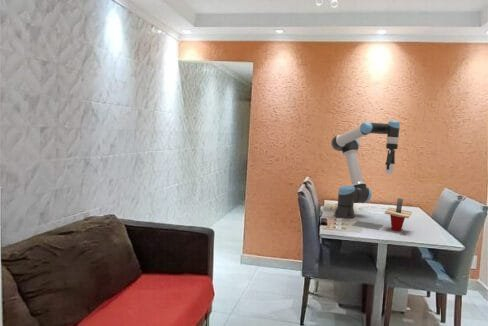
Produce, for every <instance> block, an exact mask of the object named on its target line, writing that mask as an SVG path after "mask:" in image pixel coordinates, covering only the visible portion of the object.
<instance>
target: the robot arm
mask: <svg viewBox="0 0 488 326" xmlns="http://www.w3.org/2000/svg"><path fill="white" fill-rule="evenodd" d="M400 129H401V123H400V121H398V120H388V123H385V122H384V123H382V122H370V121H365V122H362V123H361V124H360V125H359V126H358V127H356V128H354V129H351V130H350V131H349V130H348V132H344V133H343V134H337V135H336V136H334V137H333V138H332V139H331V142H330V143H331V147H332V149H333V150H335V151H338V152H342V155H343V156H344V157H345V159H346V160H345V161H346V163H347V169H348V172H349V177H350V181H351V185H342V186H340V187H339V188H338V193H337V207H336V209H335V210H334V214H333V215H334V217H335V216H336V217H335V218H337V217H339V218H338V219H344V220H346V219H348V220H353V219H355V218H356V214H355V213H356V212H355V209H354V204H364V203H365V204H366V203H368V202H369V201H370V200H371V198H372V194H373V193H372V190H371V188H370V187H368V186H367V184H366V182H364V179H363V176H362V172H361V168H360V167H361V166H360V163H359V159H358V155H357V153H358V151H359V149H360V148H359V147H360V141H359V140H358V139H360V138H362V137H365V136H367V135H371V134H373V135H374V134H377V135H387V136H386V142H387V143H386V146H385V148H386V149H387V156H386V159H385V164H384V165H385V175H390V174H394V170H395V169H394V168H395V167H394V166H395V164H396V162H395V161H396V159H395V158H396V156H395V155H396V153H395V152H396V150H398V147H399V144H398V143H399V140H400V139H399V138H400V137H399V135H400Z"/></svg>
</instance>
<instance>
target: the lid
mask: <svg viewBox="0 0 488 326" xmlns="http://www.w3.org/2000/svg"><path fill="white" fill-rule="evenodd" d="M403 200H404V199H403V198H401V197H399V198H397V201H396V208H392V207H388V208H386V210H385V211H384V214H386V215H389V216H390V215H394V216H399V217H404V218H405V219H409V218H410V217H411V215H412V213H413V211H408V210H405V209H402V207H403Z"/></svg>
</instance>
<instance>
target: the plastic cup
mask: <svg viewBox="0 0 488 326" xmlns="http://www.w3.org/2000/svg"><path fill="white" fill-rule="evenodd" d="M389 216H390V228H391V230H392V231H395V232H401V231H402V229H403V226H404V222H405V220H406V218H404V217H399V216H394V215H389Z"/></svg>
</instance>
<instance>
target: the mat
mask: <svg viewBox="0 0 488 326" xmlns="http://www.w3.org/2000/svg"><path fill="white" fill-rule="evenodd" d="M351 226H352V227H353V226H354V227H358V228H365V229H370V230H377V231H379V230H380V229H381V228H382V227H384V224H380V223H373V222H372V223H371V222H367V221H361V220H357V221H356V222H354V223H353V224H351Z"/></svg>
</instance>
